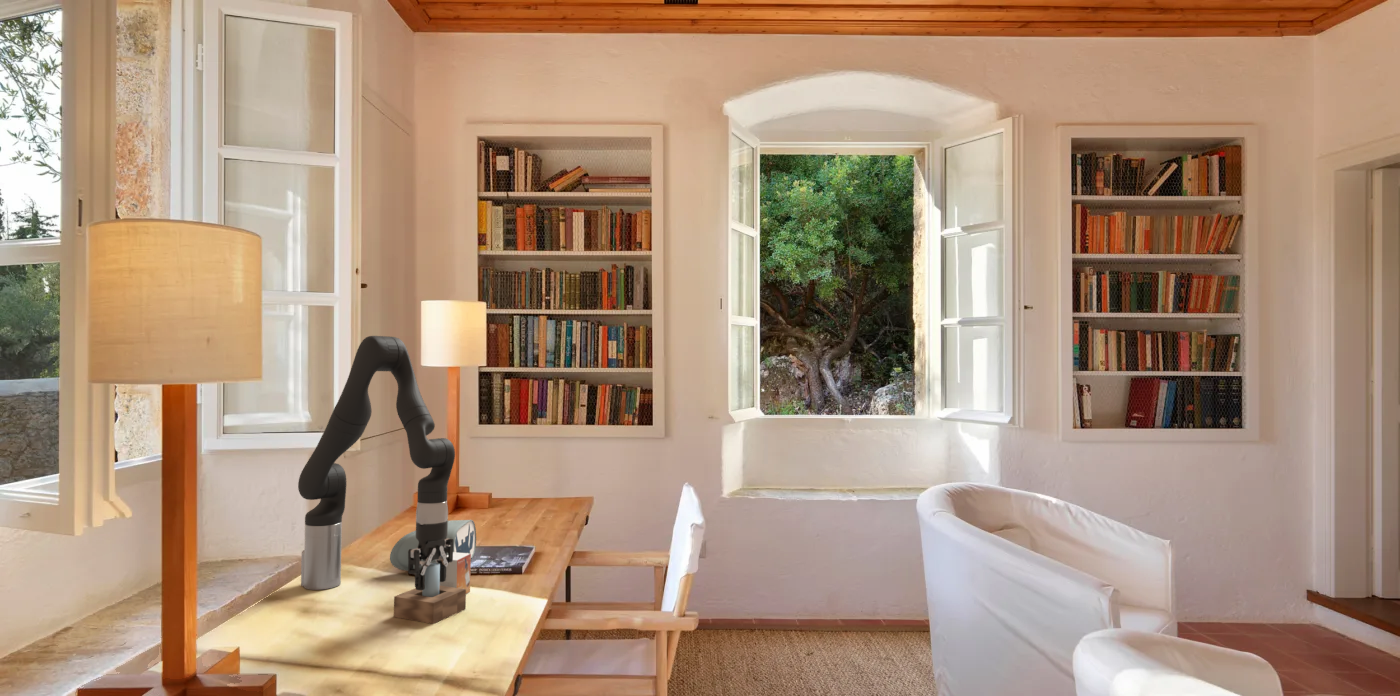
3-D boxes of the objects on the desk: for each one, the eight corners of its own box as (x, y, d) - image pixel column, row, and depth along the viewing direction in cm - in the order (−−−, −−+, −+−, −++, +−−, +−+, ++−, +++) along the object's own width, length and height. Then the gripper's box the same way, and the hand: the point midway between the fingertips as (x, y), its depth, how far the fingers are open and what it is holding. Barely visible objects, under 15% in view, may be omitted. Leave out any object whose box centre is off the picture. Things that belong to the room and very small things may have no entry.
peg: (418, 614, 198) (419, 565, 198) (429, 609, 201) (430, 561, 201) (431, 616, 196) (432, 567, 196) (442, 611, 200) (443, 563, 200)
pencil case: (454, 576, 230) (453, 531, 230) (389, 577, 231) (387, 533, 231) (477, 556, 252) (475, 515, 252) (417, 558, 253) (416, 517, 253)
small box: (456, 600, 209) (456, 560, 209) (436, 599, 210) (437, 559, 210) (470, 591, 217) (471, 552, 217) (451, 590, 218) (452, 551, 218)
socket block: (393, 616, 195) (394, 596, 195) (427, 602, 206) (427, 583, 206) (433, 623, 191) (433, 603, 191) (465, 609, 202) (465, 589, 202)
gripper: (439, 512, 207) (437, 576, 207) (399, 523, 193) (398, 591, 193) (462, 515, 204) (461, 580, 204) (424, 526, 191) (422, 595, 191)
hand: (430, 585), depth 199 cm, fingers open, 7 cm apart
